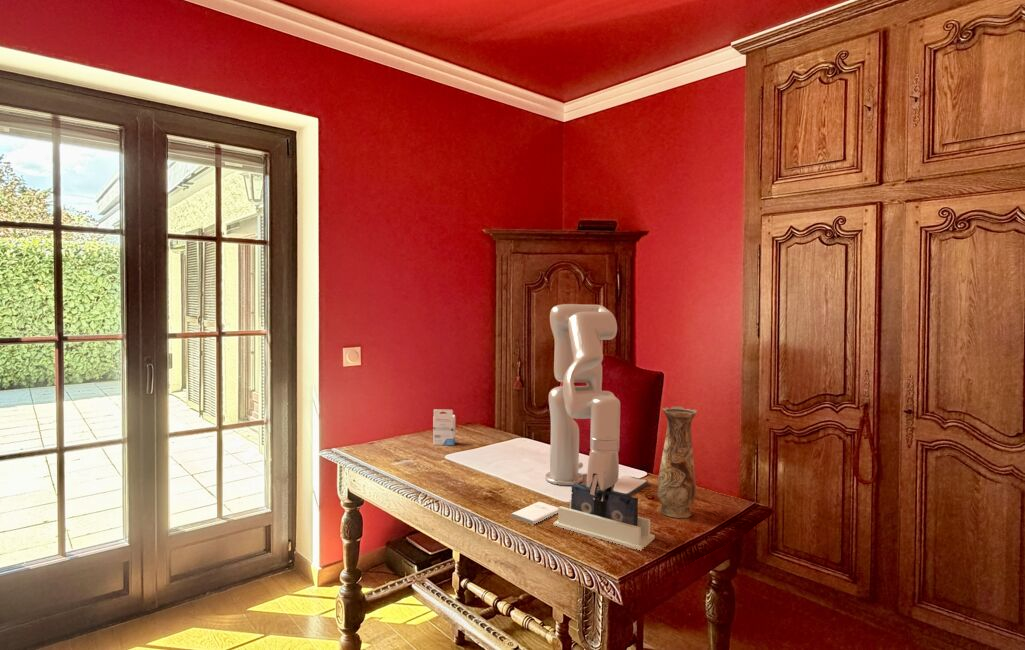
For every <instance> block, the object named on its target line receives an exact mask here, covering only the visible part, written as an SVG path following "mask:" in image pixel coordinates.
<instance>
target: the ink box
mask: <svg viewBox="0 0 1025 650" xmlns="http://www.w3.org/2000/svg"><path fill="white" fill-rule="evenodd" d="M453 413H454V410H453V409H435V408H434V409H433V417H432V422H433V423H432V427H433V428H432V430H433V431H432V433H433V434H432V438H433V439H432V440H433V441H432V444H433V446H454V445H455V443H456V415H455V414H453Z"/></svg>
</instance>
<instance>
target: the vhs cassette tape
mask: <svg viewBox="0 0 1025 650" xmlns="http://www.w3.org/2000/svg"><path fill="white" fill-rule="evenodd" d="M590 491H591V488H588V487H587V485H585V484H581V483H579V484H577V483H576V484H573V485H571V495H570V496H571V499H570V500H571V509H573V510H577V511H581V512H585V513H588V514H592V515H596V514H594V499H593V495H591V494H590ZM598 492H599V493H600V494H601V491H598ZM605 501H606V515H605V516H600V515H596V516H600V517H604V518H607V519H611V520H615V521H619V522H623V523H626V524H630V525H634V526H637V520H638V516H639V514H638V513H639V508H638V507H639V506H638V505H639V498H638V497H634V496H627V495H622V494H618V493H614V492H610V491H606V490H605Z"/></svg>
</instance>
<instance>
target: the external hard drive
mask: <svg viewBox="0 0 1025 650" xmlns="http://www.w3.org/2000/svg"><path fill="white" fill-rule="evenodd" d="M557 513H558V506H554V505H551V504H549V503H545V502H543V501H537V502H535V503H532V504H530V505H528V506H526V507H523V508H521V509H519V510H516V511H514V512H512V513H510V517H511V518H513V519H516V520H519V521H521V522H524V523H526V522H527V523H526V524H529V525H532V524H533V525H532V526H535V525H537V524H539V523H541V522H543V521H545V520H547V519H549V518H551V517H554V516H555V515H554V514H556V515H558V514H557ZM553 515H554V516H553ZM550 516H551V517H550ZM548 517H549V518H548ZM546 518H547V519H546ZM544 519H545V520H544ZM542 520H543V521H542ZM540 521H541V522H540ZM538 522H539V523H538ZM536 523H537V524H536ZM534 524H535V525H534Z"/></svg>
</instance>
